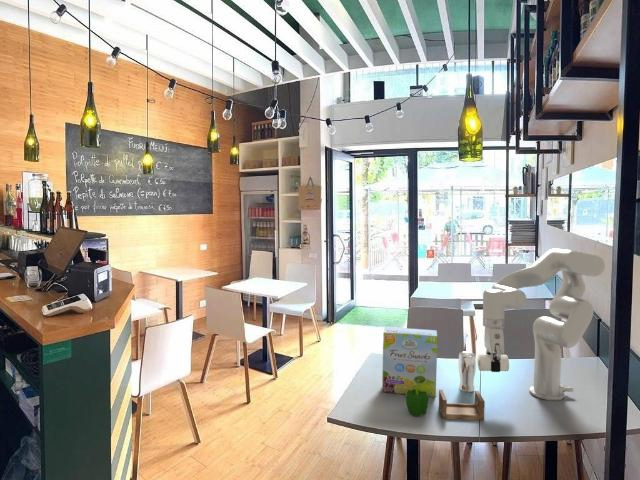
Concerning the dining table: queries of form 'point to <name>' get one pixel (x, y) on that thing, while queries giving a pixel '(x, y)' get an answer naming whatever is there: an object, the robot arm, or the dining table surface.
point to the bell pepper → (417, 401)
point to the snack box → (409, 360)
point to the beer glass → (467, 371)
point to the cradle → (462, 408)
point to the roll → (485, 362)
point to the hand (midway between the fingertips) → (493, 367)
